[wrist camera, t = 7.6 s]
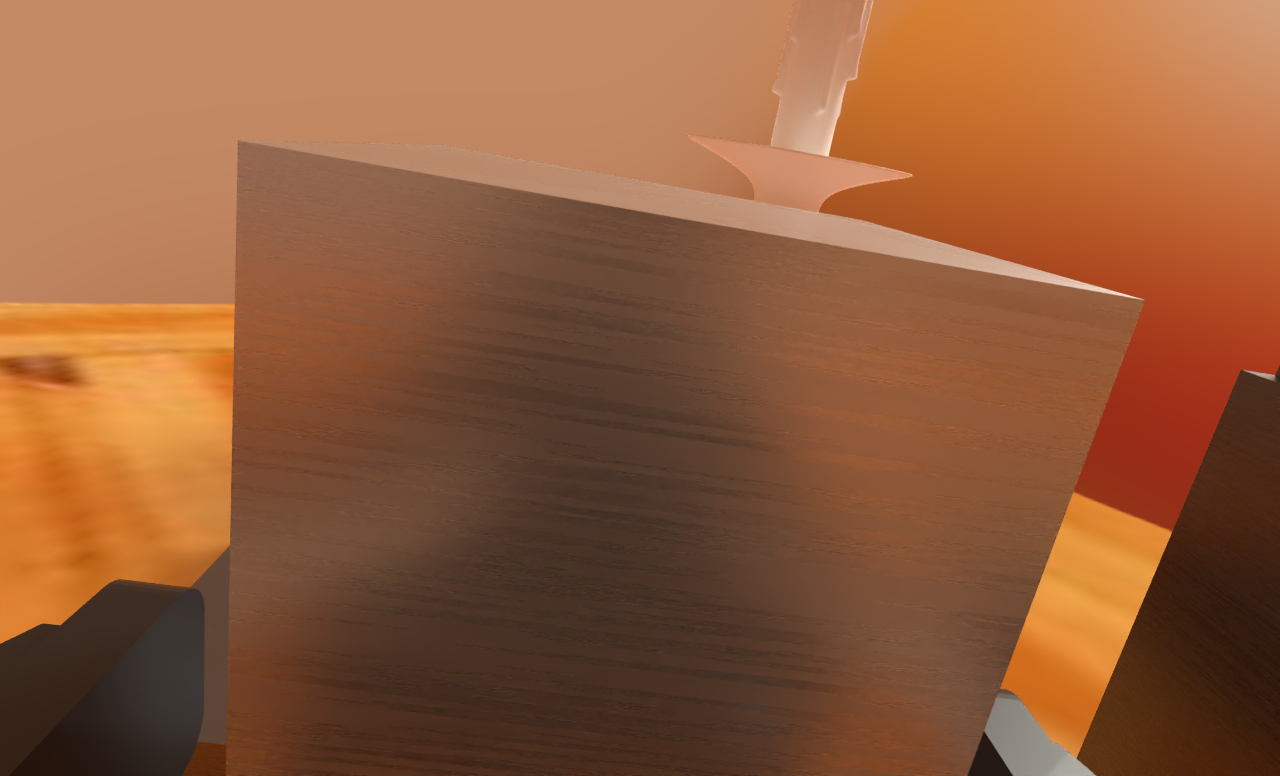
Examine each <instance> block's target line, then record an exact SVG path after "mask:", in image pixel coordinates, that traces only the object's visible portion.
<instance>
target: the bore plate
mask: <svg viewBox="0 0 1280 776" xmlns="http://www.w3.org/2000/svg"><path fill="white" fill-rule="evenodd" d="M229 585H230V547H229V548H228V549H227V550H226V551H225V552H224V553H223V554H222V555H221V556H220V557H219V558H218V559H217V560H216V561H215V562H214V563H213V565H212V566H211V567H210V568H209V569H208V570H207V571H206V572H205V573H204V574H203V575H202V576H201V577H200V578H199V579H198V580H197V581H196V583H195V584H194V585H193V586H192V587H191V588H195V589H197V590H199V591H200V592H201V594H202V596H203V600H204V608H205V633H204V714H203V721H202V726H201V731H200V734H199V738H198V741H197V744H196V747H195V750H194V752H193V755H192V757H191V759H190V762H189V764H188V766H187V768H186V769H185V771H184V773H183V775H182V776H226V743H227V691H228V638H229Z"/></svg>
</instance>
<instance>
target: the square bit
mask: <svg viewBox="0 0 1280 776" xmlns="http://www.w3.org/2000/svg"><path fill="white" fill-rule="evenodd" d="M236 218H237V220H236V271H235V322H234V375H233V428H232V480H231V533H230V585H229V638H228V691H227V743H226V776H967V775H968V772H969V770H970V767H971V764H972V762H973V759H974V756H975V754H976V751H977V748H978V746H979V743H980V740H981V738H982V735H983V732H984V730H985V727H986V724H987V722H988V719H989V716H990V714H991V711H992V708H993V705H994V703H995V700H996V697H997V695H998V692H999V689H1000V687H1001V684H1002V681H1003V679H1004V676H1005V673H1006V671H1007V668H1008V665H1009V663H1010V660H1011V657H1012V655H1013V652H1014V649H1015V647H1016V644H1017V641H1018V639H1019V636H1020V633H1021V630H1022V628H1023V625H1024V622H1025V620H1026V617H1027V614H1028V612H1029V609H1030V606H1031V604H1032V601H1033V598H1034V596H1035V593H1036V590H1037V588H1038V585H1039V582H1040V580H1041V577H1042V574H1043V572H1044V569H1045V566H1046V563H1047V561H1048V558H1049V555H1050V553H1051V550H1052V547H1053V545H1054V542H1055V539H1056V537H1057V534H1058V531H1059V529H1060V526H1061V523H1062V521H1063V518H1064V515H1065V513H1066V510H1067V507H1068V505H1069V502H1070V499H1071V496H1072V494H1073V491H1074V488H1075V486H1076V483H1077V480H1078V478H1079V475H1080V472H1081V470H1082V467H1083V464H1084V462H1085V459H1086V456H1087V454H1088V451H1089V448H1090V446H1091V443H1092V440H1093V437H1094V435H1095V432H1096V430H1097V427H1098V424H1099V421H1100V419H1101V416H1102V413H1103V410H1104V408H1105V405H1106V402H1107V400H1108V397H1109V394H1110V392H1111V389H1112V387H1113V384H1114V381H1115V378H1116V376H1117V373H1118V370H1119V368H1120V365H1121V363H1122V359H1123V357H1124V354H1125V352H1126V349H1127V346H1128V344H1129V341H1130V338H1131V336H1132V333H1133V330H1134V328H1135V325H1136V322H1137V319H1138V317H1139V314H1140V311H1141V309H1142V306H1143V303H1144V301H1145V300H1143V299H1139V298H1136V297H1132V296H1129V295H1125V294H1121V293H1118V292H1114V291H1111V290H1108V289H1103V288H1100V287H1097V286H1093V285H1090V284H1086V283H1082V282H1079V281H1076V280H1072V279H1069V278H1065V277H1061V276H1058V275H1054V274H1051V273H1047V272H1044V271H1040V270H1037V269H1033V268H1030V267H1026V266H1022V265H1019V264H1015V263H1012V262H1008V261H1005V260H1001V259H998V258H994V257H991V256H987V255H983V254H980V253H976V252H973V251H969V250H966V249H962V248H959V247H955V246H952V245H948V244H945V243H941V242H937V241H934V240H930V239H927V238H923V237H920V236H916V235H913V234H909V233H905V232H902V231H899V230H895V229H891V228H888V227H884V226H881V225H877V224H874V223H870V222H867V221H863V220H857V219H852V218H846V217H841V216H835V215H829V214H824V213H819V212H813V211H808V210H802V209H796V208H791V207H785V206H780V205H774V204H769V203H763V202H758V201H751V200H746V199H740V198H735V197H730V196H724V195H718V194H713V193H707V192H702V191H696V190H691V189H685V188H680V187H674V186H668V185H663V184H657V183H652V182H646V181H641V180H635V179H630V178H624V177H618V176H612V175H607V174H602V173H596V172H591V171H585V170H579V169H574V168H568V167H563V166H557V165H552V164H546V163H541V162H534V161H529V160H524V159H518V158H513V157H507V156H502V155H496V154H490V153H485V152H479V151H474V150H468V149H463V148H457V147H451V146H446V145H437V144H387V143H382V144H381V143H339V142H338V143H337V142H290V141H289V142H288V141H242V140H239V141H238V165H237V217H236Z"/></svg>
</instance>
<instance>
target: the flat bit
mask: <svg viewBox="0 0 1280 776" xmlns="http://www.w3.org/2000/svg"><path fill="white" fill-rule="evenodd" d="M1077 760H1078V761H1079V762H1081V763H1082V764H1083V765H1084V766H1085V767H1087V768H1088V769H1089V770H1090V771H1091V772H1093V773H1094V774H1095V775H1096V776H1280V366H1279V368H1278V371H1277V373H1276V375H1269V374H1263V373H1257V372H1251V371H1245V370H1241V371H1240V374H1239V376H1238V378H1237V381H1236V384H1235V386H1234V388H1233V390H1232V392H1231V395H1230V397H1229V400H1228V402H1227V404H1226V407H1225V409H1224V412H1223V414H1222V416H1221V419H1220V421H1219V423H1218V425H1217V428H1216V430H1215V433H1214V435H1213V437H1212V440H1211V442H1210V444H1209V447H1208V449H1207V451H1206V454H1205V456H1204V459H1203V461H1202V463H1201V466H1200V468H1199V470H1198V473H1197V475H1196V477H1195V480H1194V482H1193V485H1192V487H1191V489H1190V492H1189V494H1188V496H1187V499H1186V501H1185V504H1184V506H1183V508H1182V511H1181V513H1180V515H1179V518H1178V520H1177V522H1176V525H1175V527H1174V530H1173V532H1172V534H1171V537H1170V539H1169V541H1168V544H1167V546H1166V548H1165V551H1164V553H1163V555H1162V558H1161V560H1160V563H1159V565H1158V567H1157V570H1156V572H1155V574H1154V577H1153V579H1152V581H1151V584H1150V586H1149V589H1148V591H1147V593H1146V596H1145V598H1144V600H1143V603H1142V605H1141V607H1140V610H1139V612H1138V615H1137V617H1136V619H1135V622H1134V624H1133V626H1132V629H1131V631H1130V633H1129V636H1128V638H1127V641H1126V643H1125V645H1124V648H1123V650H1122V652H1121V655H1120V657H1119V659H1118V662H1117V664H1116V667H1115V669H1114V671H1113V674H1112V676H1111V678H1110V681H1109V683H1108V685H1107V688H1106V690H1105V693H1104V695H1103V697H1102V700H1101V702H1100V704H1099V707H1098V709H1097V711H1096V714H1095V716H1094V718H1093V721H1092V723H1091V726H1090V728H1089V730H1088V733H1087V735H1086V737H1085V740H1084V742H1083V744H1082V747H1081V749H1080V752H1079V754H1078V756H1077Z"/></svg>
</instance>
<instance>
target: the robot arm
mask: <svg viewBox="0 0 1280 776" xmlns="http://www.w3.org/2000/svg"><path fill="white" fill-rule="evenodd" d="M204 633H205V608H204V600H203V596H202V594H201V592H200V591H199V590H197V589H195V588H187V587H179V586H171V585H162V584H154V583H146V582H138V581H130V580H121V579H119V580H115V581H113V582H111V583H109V584H108V585H106V586H105V587H104V588H103V589H101V590H100V591H99V592H98V593H97V594H96V595H95V596H93V597H92V598H91V599H90V600H89V601H88V602H87V603H86V604H84V605H83V606H82V607H81V608H80V609H79V610H78V611H76V612H75V613H74V614H73V615H72V616H71V617H70V618H68V619H67V620H66V621H65V622H64V623H63V624H62V625H52V624H40V625H38V626H36V627H34V628H32V629H30V630H28V631H26V632H24V633H22V634H20V635H18V636H16V637H14V638H12V639H10V640H8V641H5V642H3V643H1V644H0V776H182V775H183V773H184V771H185V769H186V768H187V766H188V764H189V762H190V759H191V757H192V755H193V752H194V750H195V747H196V744H197V741H198V738H199V734H200V731H201V726H202V721H203V714H204ZM967 776H1096V775H1095V774H1094V773H1093V772H1091V771H1090V770H1089V769H1088V768H1087V767H1085V766H1084V765H1083V764H1082V763H1081V762H1079V761H1078V760H1077V759H1076V758H1075V757H1073V756H1072V755H1071V754H1070V753H1069V752H1068V751H1066V750H1065V749H1064V748H1063V747H1062V746H1060V745H1059V744H1058V743H1052V741H1051V740H1050V739H1049V737H1048V736H1047V735H1046V733H1045V732H1044V731H1043V729H1042V728H1041V727H1040V725H1039V724H1038V723H1037V721H1036V720H1035V719H1034V717H1033V716H1032V715H1031V713H1030V712H1029V711H1028V709H1027V708H1026V707H1025V705H1024V704H1023V703H1022V701H1021V700H1020V699H1019V698H1018V697H1017V696H1016V695H1015V694H1014V693H1012V692H1011V691H1009V690H1005V689H999V692H998V695H997V697H996V700H995V703H994V705H993V708H992V711H991V714H990V716H989V719H988V722H987V724H986V727H985V730H984V732H983V735H982V738H981V740H980V743H979V746H978V748H977V751H976V754H975V756H974V759H973V762H972V764H971V767H970V770H969V772H968V775H967Z"/></svg>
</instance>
